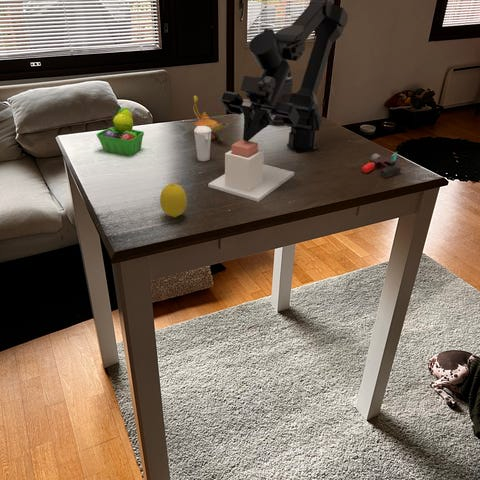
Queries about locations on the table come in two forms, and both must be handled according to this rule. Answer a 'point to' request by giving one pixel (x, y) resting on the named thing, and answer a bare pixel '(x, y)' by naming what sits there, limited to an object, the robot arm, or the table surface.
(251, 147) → the salmon pink square block
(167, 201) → the lemon
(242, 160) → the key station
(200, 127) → the takeaway coffee cup
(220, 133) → the table surface
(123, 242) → the table surface
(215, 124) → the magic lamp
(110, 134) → the fruit basket
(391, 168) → the toy gun
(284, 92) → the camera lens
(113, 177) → the table surface
